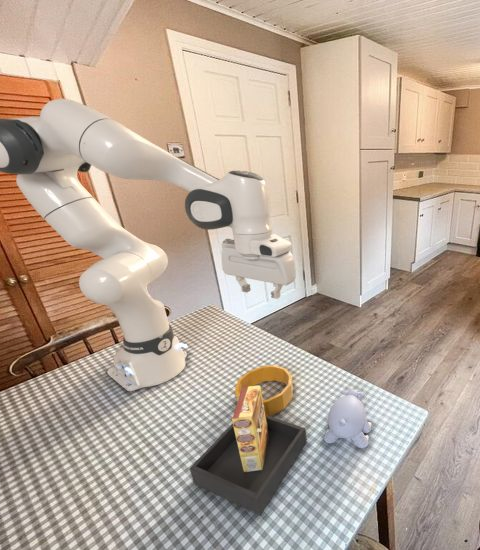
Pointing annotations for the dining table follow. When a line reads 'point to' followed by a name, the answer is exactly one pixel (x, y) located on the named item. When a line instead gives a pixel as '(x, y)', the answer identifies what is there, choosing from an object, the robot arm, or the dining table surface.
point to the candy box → (251, 428)
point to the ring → (269, 374)
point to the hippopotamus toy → (348, 419)
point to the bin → (256, 484)
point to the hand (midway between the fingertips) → (260, 294)
